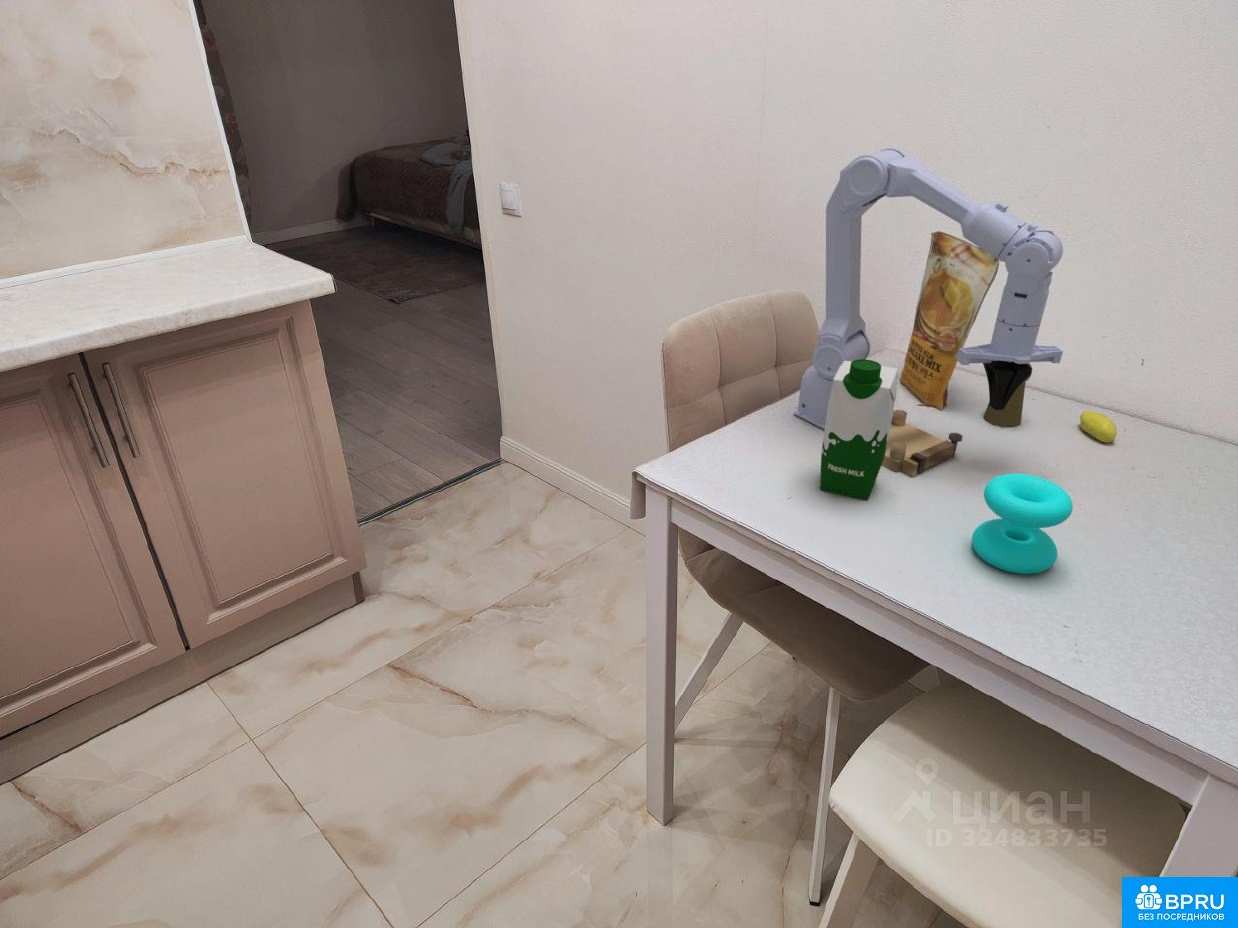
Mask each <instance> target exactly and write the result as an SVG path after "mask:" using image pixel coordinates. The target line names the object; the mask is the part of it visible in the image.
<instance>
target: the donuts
mask: <svg viewBox="0 0 1238 928" xmlns="http://www.w3.org/2000/svg"><path fill="white" fill-rule="evenodd" d="M983 497H984V501H985V503H986V505H987V507H988V508H989V509H990V510H991V512H993V513H994V514H995V515H996V516H997V517H999V518H993V519H989V520H986V521H984V522H981V524H979V525H978V526H977V527H976V528H975V529H974V531H973V532H972V536H971V542H972V543H971V544H972V547H973V549H974V551H975V552H976V554H977V555H978V556H979V557H980V558H981V559H982V560H983V561H985V562H986V563H987V564H990V565H991V566H993V567H995V568H997V569H999V570H1003V571H1005V572H1009V573H1013V574H1014V573H1015V574H1021V575H1030V574H1031V575H1032V574H1038V573H1042V572H1045V571H1047V570H1048V569H1050V568H1051V567H1052V566H1054V564H1055V562H1056V561H1057V558H1058V549H1057V545H1056V544H1055V542H1054V540H1053V538H1052V537H1050V536H1049V534H1047V533H1046V532H1045V531H1044V530H1043V529H1045V528H1050V527H1052V528H1053V527H1055V526H1058V525H1060V524H1062V523H1064V522H1065V521H1067V519H1069V518H1070V516H1071V515H1072V512H1073V501H1072V498H1071V497H1070V495H1069V493H1067V491H1066V490H1064V489H1063V488H1062V487H1061V486H1059V485H1058V484H1057V483H1055V482H1053V481H1050V480H1048V479H1045V478H1042V477H1040V476H1036V475H1032V474H1027V473H1026V474H1025V473H1006V474H1001V475H999V476H995V477H994V478H992V479H990V480H989V481H988V482H987V483H986V485H985V487H984V490H983Z"/></svg>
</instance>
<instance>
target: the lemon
mask: <svg viewBox="0 0 1238 928" xmlns="http://www.w3.org/2000/svg"><path fill="white" fill-rule="evenodd" d="M1079 420H1080V428H1081V429H1082V430H1083V431H1084V432H1086V433H1088V435H1091V436H1092V437H1094V438H1095V439H1097V440H1098V441H1099V442H1102V443H1110V442H1112V441H1113V440H1114V439H1115V438H1116V437H1117V435H1118V434H1117V432H1118V431H1117V427H1116V424H1115V422H1114V421H1113V420H1112V419H1110V418H1109V417H1108V416H1107V415H1105V414H1103V413H1100V412H1097V411H1095V410H1094V411H1093V410H1085V411H1083V412H1082V413H1081V414H1080V417H1079Z"/></svg>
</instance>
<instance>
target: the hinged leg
mask: <svg viewBox="0 0 1238 928" xmlns="http://www.w3.org/2000/svg"><path fill="white" fill-rule="evenodd" d="M954 448H955V444H954V443H951V441H950V440H944V442H942V443H939V444H937V445H935V446H932V447H930V448H928V449H926V450H923V451H921V452H919V453H917V452H916V453H914V454H912V455H911V460H913V461H915V462H917V463H919V464H918V469H917V474H919V473H922V472H924V471H925V470H926V469H928V468H930V467H932V466H934V465H935V466H936V465H937V464H939V463H941V462H944V461H946V460H949V459H950V458H953V457H952V456H953V452H954Z"/></svg>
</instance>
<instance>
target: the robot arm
mask: <svg viewBox="0 0 1238 928" xmlns="http://www.w3.org/2000/svg"><path fill="white" fill-rule="evenodd" d="M839 173H840V174H839V179H838V182H837V184H836V186H835V187H834V190H833V191H832V193H831V195H830V198H829V200H828V201H827V204H826V208H825V320H824V322H823V324H822V326H821V328H820V329H819V332H818V334H817V344H816V347H815V349H814V350H813V353H812V365H810V366H808V368H807V369H806V370H805V372H804V374H803V375H802V377H801V382H800V388H799V395H798V396H799V397H798V406H797V410H795V411H794V412H793V414H794V415H795V416H797V417H799V418H801V419H803V420H805V421H807V422H809V423H811V424H812V425H815V426H816V427H819V428H820V429H823V430H824V431H825V424H826V417H827V409H828V403H829V398H830V394H831V387H832V382H833V379H834V377H835V375H836V373H837V371H838V369H839V367H840V366H841V365H842V364H843V362H844V361H851V362H852V361H854V360H859V359H866V360H867V358H868V357H869V355H870V353H871V342H870V339H869V336H868V335H867V331H866V321H865V320H864V319H863V318H862V316H861V314H860V313H861V312H860V310H861V306H860V305H861V271H862V270H861V265H862V262H861V260H862V217H863V216H864V214H866V213H867V211H869V210H870V209H871V208H872V207H873V206H874V205H875V204H876V203H877V202H878V201H879V200H880V199H882V198H884V197H886V198H904V197H913V198H914V199H917V200H919V202H922V203H923V204H925V205H928V206H929V207H931V208H933V209H934V210H936V211H937V212H939V213H941V214H942V215H944V216H947V218H950V219H951V220H953V221H955V222H957V223H958V224H960V228H961V233H962V237H963V238H964V239H966V240H968V242H969V243H971V244H972V245H973V244H974V246H976V247H979V248H981V249H982V250H984V251H985V252H987V253H989V254H990V255H992V256H993V257H995V258H996V259H998V261H999V262H1003V263H1004V266H1005V269H1006V272H1007V273H1008V274H1007V279H1006V281H1005V282H1006V283H1005V285H1004V287H1003V291H1002V295H1001V298H1000V303H999V308H998V310H997V311H998V312H997V316H996V319H995V324H994V328H993V332H992V336H991V340H990V343H987V344H981V345H976V346H971V347H969V346H968V347H963V348H959V352H958V356H957V363H959V364H960V365H962V366H970V364H983V367H984V371H985V373H986V378H987V379H986V380H987V384H988V391H989V393H988V396H989V397H988V398H989V399H988V404H989V405H990V406H991V407H992V408H993V409H994V410H1004V408H1005V406H1006V405H1007V403H1008V401H1009V399H1010V398H1011V396H1012V395H1013V393H1014V392H1015V390H1016V389H1017V388H1018V387H1019V385H1020V384H1021V383H1022V382H1023V381H1024V380H1025V379H1026V378H1027V377H1029V376H1030V375H1031V376H1032V374H1031V372H1032V373H1033V366H1031V367H1030V366H1029V365H1028V364H1029V363H1030V364H1031V363H1041V362H1043V363H1045V362H1048V363H1049V362H1051V363H1052V364H1060V363H1061V360H1062V357H1063V353H1064V350H1063V349H1061V348H1059V347H1058V346H1056V345H1040V344H1036V342H1037V338H1038V335H1039V331H1040V326H1041V323H1042V320H1043V317H1044V316H1043V315H1044V312H1045V308H1046V305H1047V301H1048V297H1049V294H1050V286H1051V284H1052V278H1053V274H1054V273H1053V271H1052V270H1053V269H1054V268H1056V266H1057V265H1058V264H1059V263H1060V261H1061V259H1062V256H1063V252H1064V248H1063V243H1062V240H1060V238H1059V237H1058V236H1057V235H1055V233H1054V232H1053V231H1052V230H1051V229H1038V227H1039V226H1038V224H1036V223H1034V222H1030V223H1027V222H1026V221H1024V220H1023V219H1022V218H1020V217H1018V216H1016V215H1014V214H1013V213H1012V212H1010V211H1008V208H1009V205H1008V204H1007V203H1005V202H1004V201H1002V200H1001V201H999V202H997V203H996V202H994V201H993V200H988V201H984V202H979V203H978V202H976V201H974V200H973V199H972V198H970V197H969V196H968V195H966V194H964V193H963V192H961V190H959V189H957V188H956V187H954V186H953V185H952V184H951V183H949V182H948V181H947V180H945V179H944V178H942V177H941V176H939V175H938V174H936V173H935V172H934V171H932V170H931V169H929V168H928V167H927V166H925V165H924V164H923V163H922V162H920V161H919V160H918V159H917V158H915V157H912V156H910V155H907V156H906V154H905V153H904V152H903V151H902V150H899V149H897V148H893V147H892V148H891V147H890V148H884V149H881V150H880V151H877V152H873V153H870V154H867V153H866V154H862V155H859V156H858V157H856V158H854V159H853V160H852V161H851V162H850V163H848V164H847V165H846V166H845V167H843V168H842V170H841V171H840V172H839ZM1031 376H1030V377H1031Z"/></svg>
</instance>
